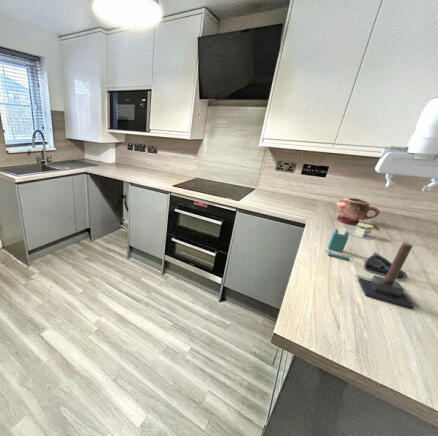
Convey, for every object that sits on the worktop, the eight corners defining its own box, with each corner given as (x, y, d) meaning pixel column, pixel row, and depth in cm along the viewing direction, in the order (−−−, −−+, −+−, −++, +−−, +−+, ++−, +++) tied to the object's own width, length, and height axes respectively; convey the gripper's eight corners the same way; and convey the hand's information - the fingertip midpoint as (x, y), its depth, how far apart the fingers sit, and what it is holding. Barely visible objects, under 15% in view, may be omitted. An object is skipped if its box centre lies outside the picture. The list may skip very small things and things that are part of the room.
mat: (399, 291, 78) (400, 288, 78) (412, 309, 70) (414, 306, 70) (357, 280, 83) (358, 277, 83) (365, 295, 75) (366, 293, 75)
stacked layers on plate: (368, 240, 116) (373, 230, 114) (346, 233, 123) (350, 224, 121) (375, 236, 121) (379, 226, 119) (353, 230, 128) (357, 220, 126)
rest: (343, 250, 104) (351, 231, 101) (348, 260, 96) (357, 240, 93) (324, 246, 108) (331, 227, 104) (328, 255, 99) (335, 236, 96)
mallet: (394, 259, 81) (423, 244, 68) (392, 300, 76) (422, 292, 64) (372, 254, 83) (395, 238, 71) (368, 293, 79) (393, 284, 66)
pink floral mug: (372, 225, 137) (382, 202, 132) (372, 230, 129) (383, 206, 124) (331, 215, 149) (338, 194, 144) (328, 220, 141) (336, 198, 136)
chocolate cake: (402, 274, 89) (380, 246, 92) (410, 278, 83) (387, 248, 86) (372, 283, 93) (353, 256, 96) (378, 288, 87) (357, 258, 90)
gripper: (387, 145, 79) (371, 185, 84) (477, 151, 70) (453, 196, 75) (381, 145, 85) (366, 183, 90) (464, 150, 75) (442, 192, 80)
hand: (406, 189), depth 82 cm, fingers open, 8 cm apart
